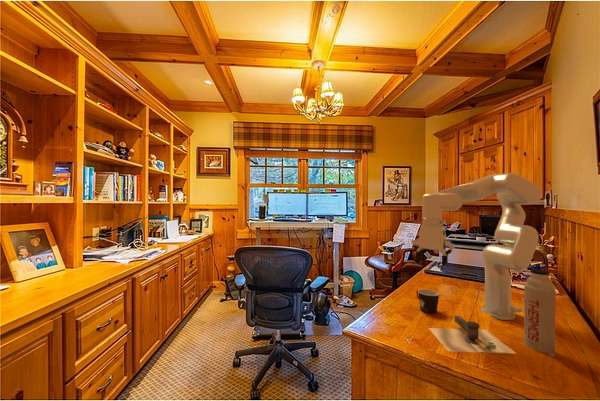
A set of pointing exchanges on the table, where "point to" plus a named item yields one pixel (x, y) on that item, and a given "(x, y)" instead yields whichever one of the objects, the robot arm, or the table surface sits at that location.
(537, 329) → the thermos bottle
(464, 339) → the beige flat slab
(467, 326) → the grey door handle
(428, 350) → the table surface
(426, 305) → the coffee mug
